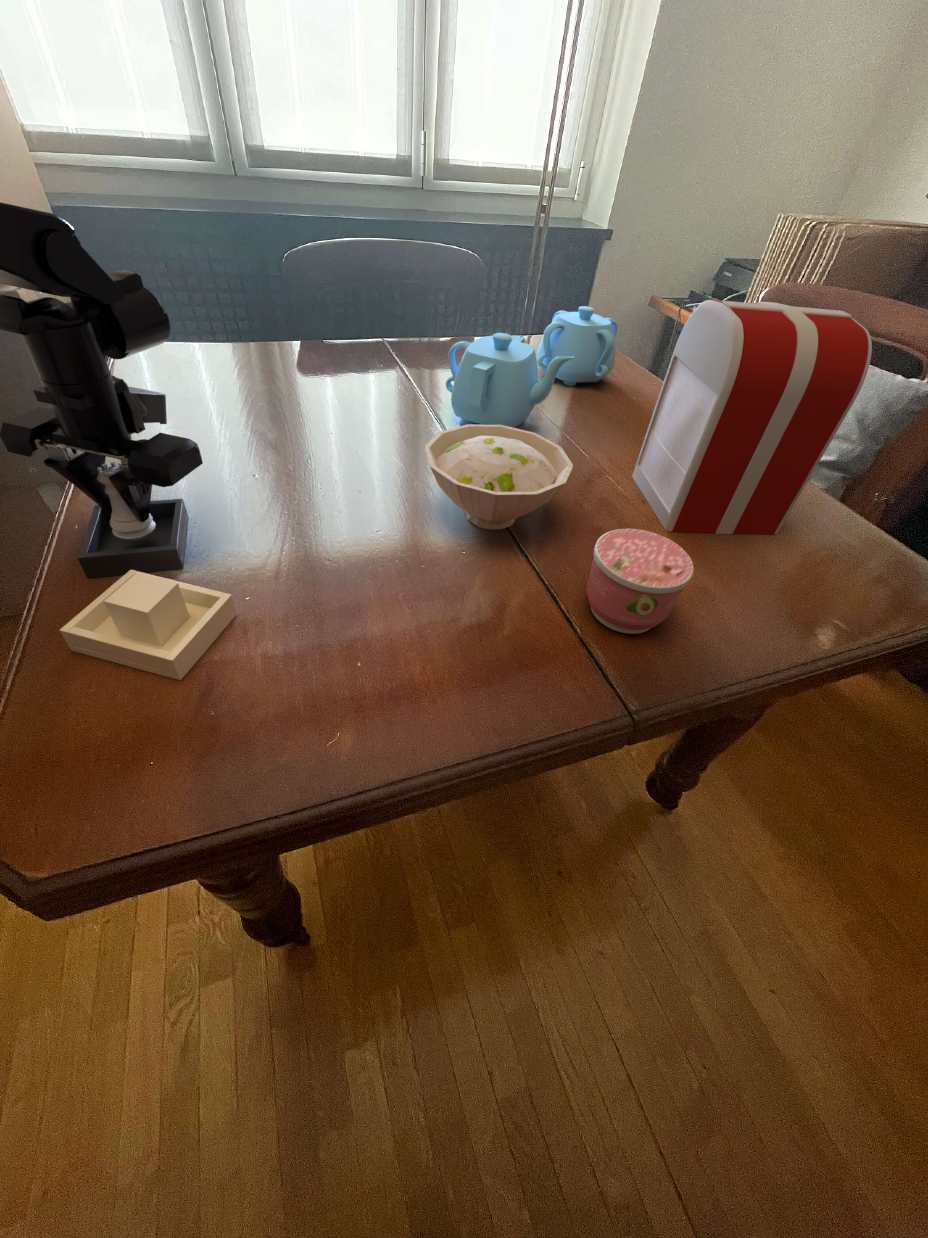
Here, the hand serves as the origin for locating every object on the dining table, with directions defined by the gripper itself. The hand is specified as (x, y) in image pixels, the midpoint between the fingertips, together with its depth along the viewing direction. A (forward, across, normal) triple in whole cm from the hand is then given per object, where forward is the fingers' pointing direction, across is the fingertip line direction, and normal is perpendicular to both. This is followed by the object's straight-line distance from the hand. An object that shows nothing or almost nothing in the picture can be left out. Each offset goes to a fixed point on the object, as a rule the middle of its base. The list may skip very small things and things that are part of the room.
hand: (129, 516), depth 61 cm
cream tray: (+4, -10, +11) cm, 16 cm away
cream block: (+3, -10, +11) cm, 16 cm away
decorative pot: (+4, -43, -85) cm, 95 cm away
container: (+4, -56, -9) cm, 57 cm away
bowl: (+4, -38, -23) cm, 44 cm away
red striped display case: (+4, -68, -39) cm, 78 cm away
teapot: (+4, -32, -54) cm, 63 cm away
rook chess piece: (+2, 0, 0) cm, 2 cm away
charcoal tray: (+4, 0, 0) cm, 4 cm away
